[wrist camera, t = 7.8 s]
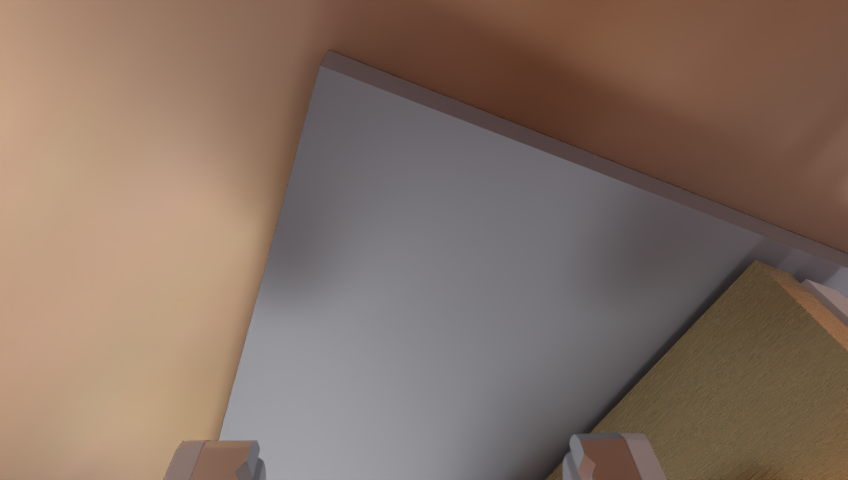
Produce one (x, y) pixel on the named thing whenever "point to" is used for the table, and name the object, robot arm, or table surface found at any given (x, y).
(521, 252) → the hinge base
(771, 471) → the bar
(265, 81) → the table surface
